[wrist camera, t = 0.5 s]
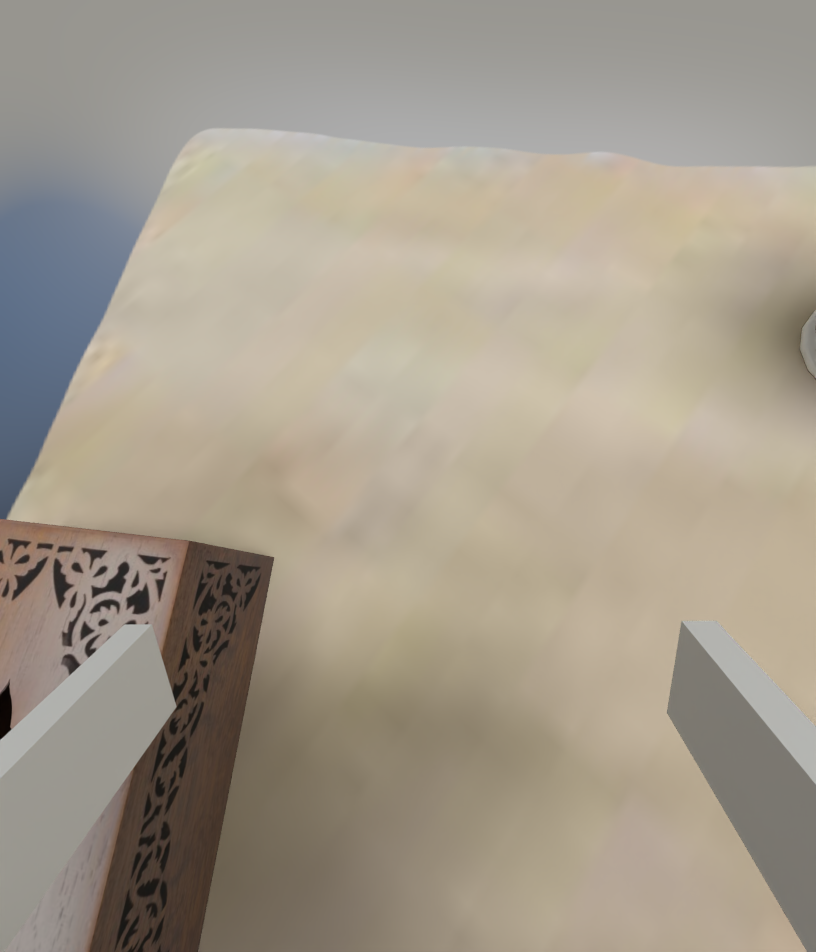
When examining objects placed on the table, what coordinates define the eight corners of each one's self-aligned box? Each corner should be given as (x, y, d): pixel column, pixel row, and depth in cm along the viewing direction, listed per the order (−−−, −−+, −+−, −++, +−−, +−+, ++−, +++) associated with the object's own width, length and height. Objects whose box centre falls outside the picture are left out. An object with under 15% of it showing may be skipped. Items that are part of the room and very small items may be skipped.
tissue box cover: (185, 1027, 24) (0, 1314, 14) (-33, 962, 26) (-319, 1174, 17) (275, 557, 30) (189, 540, 21) (94, 536, 32) (-59, 512, 23)
